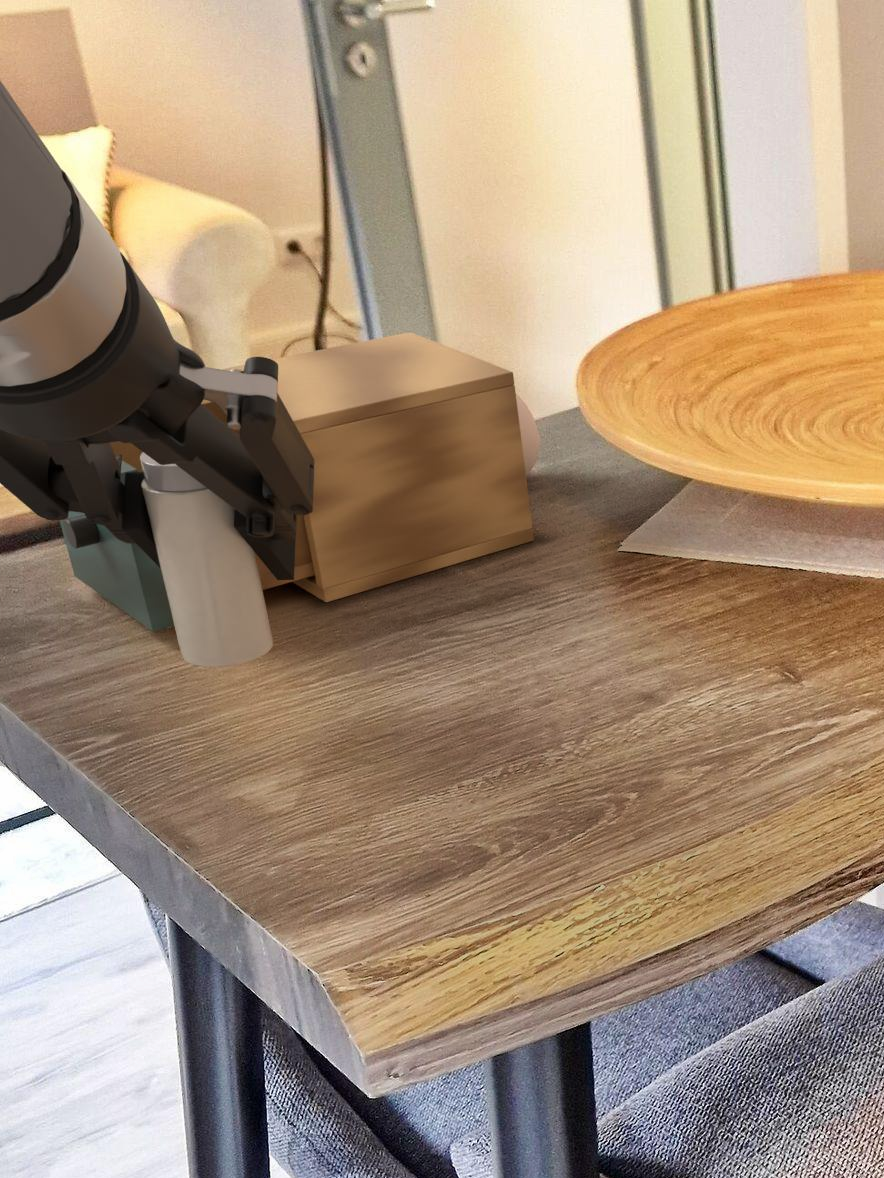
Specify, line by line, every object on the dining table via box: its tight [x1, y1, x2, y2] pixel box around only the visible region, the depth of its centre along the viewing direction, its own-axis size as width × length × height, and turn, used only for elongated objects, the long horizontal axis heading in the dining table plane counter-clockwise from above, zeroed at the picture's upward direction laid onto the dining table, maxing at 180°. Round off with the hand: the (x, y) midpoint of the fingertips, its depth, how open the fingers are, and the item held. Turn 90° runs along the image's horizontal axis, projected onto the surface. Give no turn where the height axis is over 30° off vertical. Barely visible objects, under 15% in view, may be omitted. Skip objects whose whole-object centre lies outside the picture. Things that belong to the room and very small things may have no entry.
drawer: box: [59, 399, 315, 633], centre depth 95 cm, size 14×10×9 cm
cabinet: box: [221, 331, 535, 603], centre depth 101 cm, size 14×12×11 cm
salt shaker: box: [140, 452, 274, 668], centre depth 78 cm, size 4×4×10 cm
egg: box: [516, 393, 540, 477], centre depth 112 cm, size 5×5×7 cm
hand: (235, 554), depth 82 cm, fingers closed on salt shaker, 4 cm apart
